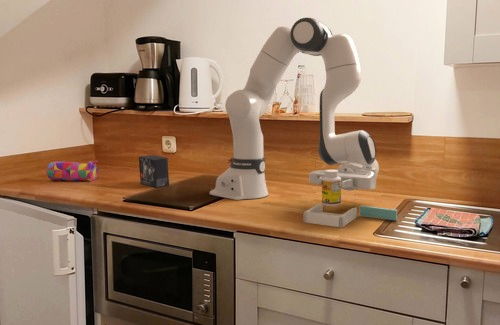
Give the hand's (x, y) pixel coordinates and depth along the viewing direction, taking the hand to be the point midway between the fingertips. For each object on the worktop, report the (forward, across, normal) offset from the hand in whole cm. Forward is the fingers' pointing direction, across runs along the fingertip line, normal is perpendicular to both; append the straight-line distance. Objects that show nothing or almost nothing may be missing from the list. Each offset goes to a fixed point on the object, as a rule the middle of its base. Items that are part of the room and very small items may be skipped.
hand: (330, 183), depth 136 cm
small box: (-8, -86, +11) cm, 87 cm away
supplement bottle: (-1, 0, +7) cm, 7 cm away
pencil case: (+4, -126, +10) cm, 126 cm away
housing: (-1, 0, +11) cm, 11 cm away
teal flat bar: (-10, +11, +11) cm, 18 cm away
